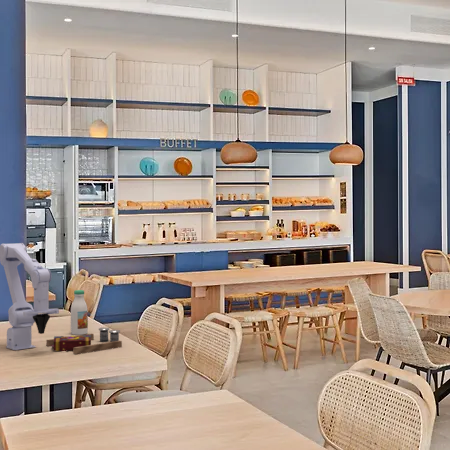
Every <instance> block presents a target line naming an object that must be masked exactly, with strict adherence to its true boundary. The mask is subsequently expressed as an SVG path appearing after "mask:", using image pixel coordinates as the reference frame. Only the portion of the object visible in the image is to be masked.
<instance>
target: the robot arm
mask: <svg viewBox="0 0 450 450" xmlns="http://www.w3.org/2000/svg"><path fill="white" fill-rule="evenodd" d="M21 264H22V265H23V269H24V270H25V272H27V274H28V275H29V276H30V281H31V284H32V285H31V286H32V289H33V305H32V304H31V303H29V302H27V301H26V298H25V297H26V296H25V293H24V289H23V286H22V282H21V278H20V274H19V270H18V266H19V265H21ZM0 265H1V266H3V269H4V273H5V277H6V280H7V285H8V288H9V293H10V298H11V301H12V305H11V306H10V307H9V308H8V311H7V312H8V323H9V325H11V327H9V328H7V329H6V346H5V347H6V349H10V350H12V351H19V350H27V349H33V348H36V345H33V344H32V337H33V336H32V334H33V333H32V326H34V324H35V325H36V328H37V331H38V334H39V335H43V334H45V329H46V327H47V324H48V321H49V320H50V317H51V315H54V314H55V315H56V314H59V313H60V312H59V311H60V309H59V308H58V307H56V308H49V306H50V303H49V302H50V301H49V298H50V297H49V296H50V295H49V294H50V292H49V291H50V290H49V283H51V281H52V278H53V277H52V276H53V275H52V272H51V270H50V268H47V267H43V266H42V265H41V264H40V262H38V260H37V259H36V258H31V256H30V255H29V253H28V252H27V247H26V245H25V244H24V243H23V242H19V243H16V242H15V243H1V244H0Z"/></svg>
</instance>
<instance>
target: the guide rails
mask: <svg viewBox="0 0 450 450" xmlns="http://www.w3.org/2000/svg"><path fill="white" fill-rule="evenodd" d="M85 335H91V341H94V337H95V335H94V333H87V334H83V335H77V336H85ZM122 343H123V341H122V340H119V341H113V342H110V341H108V342H100V343H95V344H94V343H93V344H91V345H87V346H81V347H74V348H73V350H72V354H73V355H80V354H81V353H82V354H87V352H88V353H93V351H94V352H100V351H106V350H112V348H113V349H118V347H119V348H122V347H123V344H122ZM52 345H54V338H51V339H46V346H47V347H52Z"/></svg>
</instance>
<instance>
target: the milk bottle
mask: <svg viewBox="0 0 450 450" xmlns="http://www.w3.org/2000/svg"><path fill="white" fill-rule="evenodd" d="M73 291H74V292H73V293H74V294H73V295H74V299H73V301H72V303H71V307H70V335H72V336H73V335H75V336H78V335H85V334H89V333H88V330H89V328H88V327H89V325H88V324H89V320H88V319H89V317H88V315H89V313H88V310H89V309H88V305H87V303H86V300H85V290H83V289H77V290H76V289H75V290H73Z"/></svg>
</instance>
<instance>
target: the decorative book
mask: <svg viewBox="0 0 450 450" xmlns="http://www.w3.org/2000/svg"><path fill="white" fill-rule="evenodd" d="M84 335H85V334H84ZM53 339H54V345H52V346H51V347H52V348H53V352H61V351H66V352H67V351H68V352H69V351H72V352H73V348H74V347H81V346H87V345H92V340H91V335H85V336H78V335H73V334H72V335H70V336H63V335H61V336H60V335H58V336H57V335H56V336H55V335H54V337H53Z"/></svg>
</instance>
